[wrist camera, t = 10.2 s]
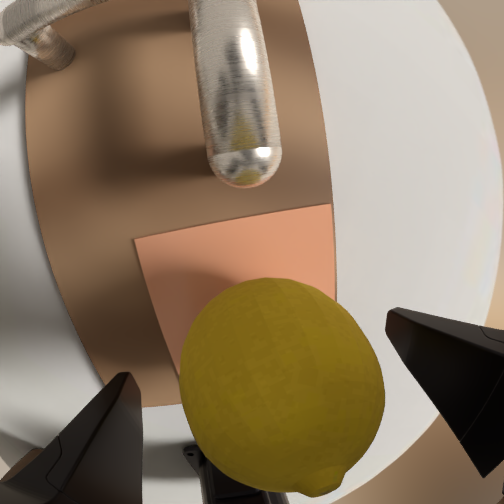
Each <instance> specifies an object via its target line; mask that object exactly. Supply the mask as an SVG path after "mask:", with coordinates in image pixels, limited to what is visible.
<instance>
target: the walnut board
mask: <svg viewBox="0 0 504 504" xmlns="http://www.w3.org/2000/svg"><path fill="white" fill-rule="evenodd" d="M256 3H257V7H258V12H259V17H260V21H261V26H262V31H263V36H264V41H265V46H266V52H267V57H268V62H269V68H270V74H271V79H272V85H273V91H274V97H275V104H276V110H277V116H278V123H279V130H280V137H281V144H282V158H281V162H280V165H279V167H278V169H277V171H276V172H275V174H274V175H273V176H272V177H271V178H270V179H269V180H268V181H266V182H265V183H263V184H261V185H259V186H256V187H252V188H237V187H233V186H230V185H228V184H226V183H224V182H223V181H221V180H220V179H219V178H218V177H217V176H216V175H215V174H214V172H213V171H212V169H211V167H210V165H209V161H208V158H207V151H206V144H205V138H204V131H203V124H202V117H201V109H200V102H199V95H198V87H197V79H196V71H195V63H194V54H193V45H192V36H191V27H190V17H189V7H188V0H110V1H107V2H104V3H101V4H98V5H95V6H93V7H90V8H87V9H85V10H82V11H80V12H77V13H75V14H73V15H70V16H68V17H66V18H64V19H61V20H59V21H57V22H55V23H53V24H51V25H50V26H51V27H52V28H53V29H54V30H55V31H57V32H58V33H59V34H60V35H61V36H62V37H63V38H64V39H65V40H66V41H67V42H68V43H69V44H70V45H71V46H73V47H74V49H75V57H74V59H73V61H72V62H71V64H70V65H69V66H68V67H66V68H65V69H63V70H60V71H55V70H53V69H52V68H50V67H49V66H47V65H46V64H44V63H42V62H41V61H39V60H38V59H36V58H34V57H33V56H31V55H29V56H28V65H27V76H26V96H25V122H26V142H27V154H28V164H29V172H30V179H31V185H32V191H33V197H34V202H35V207H36V212H37V217H38V221H39V225H40V230H41V234H42V237H43V241H44V245H45V248H46V252H47V255H48V258H49V262H50V265H51V268H52V271H53V274H54V277H55V280H56V283H57V285H58V288H59V291H60V293H61V296H62V299H63V301H64V304H65V306H66V308H67V311H68V313H69V316H70V318H71V320H72V322H73V325H74V327H75V329H76V331H77V333H78V335H79V338H80V340H81V342H82V344H83V346H84V348H85V350H86V352H87V354H88V355H89V357H90V359H91V361H92V363H93V365H94V367H95V368H96V370H97V372H98V374H99V375H100V377H101V379H102V381H103V382H104V384H105V386H106V385H107V384H108V382H109V381H110V380H111V379H112V378H113V377H114V376H115V375H116V374H117V373H119V372H127V371H129V372H131V374H132V375H133V377H134V379H135V381H136V383H137V385H138V386H139V388H140V391H141V402H142V407H155V406H165V405H174V404H182V401H181V396H180V389H179V374H178V372H177V369H176V367H175V364H174V362H173V359H172V357H171V354H170V352H169V349H168V346H167V344H166V341H165V338H164V336H163V333H162V330H161V327H160V324H159V322H158V319H157V316H156V313H155V310H154V307H153V304H152V300H151V297H150V294H149V291H148V288H147V284H146V281H145V278H144V274H143V271H142V267H141V263H140V260H139V256H138V252H137V248H136V244H135V240H134V239H135V238H139V237H143V236H148V235H153V234H157V233H162V232H167V231H172V230H177V229H182V228H187V227H192V226H197V225H202V224H207V223H212V222H218V221H223V220H229V219H234V218H240V217H245V216H251V215H257V214H263V213H268V212H274V211H281V210H287V209H293V208H299V207H306V206H312V205H319V204H326V203H330V204H331V209H332V224H333V242H334V270H335V301H336V302H337V270H336V240H335V222H334V207H333V194H332V183H331V173H330V164H329V155H328V147H327V139H326V132H325V125H324V118H323V112H322V105H321V99H320V94H319V88H318V83H317V78H316V72H315V68H314V63H313V58H312V53H311V49H310V45H309V40H308V36H307V32H306V28H305V24H304V20H303V17H302V13H301V9H300V6H299V2H298V0H256Z"/></svg>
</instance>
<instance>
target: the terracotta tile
mask: <svg viewBox="0 0 504 504" xmlns="http://www.w3.org/2000/svg"><path fill="white" fill-rule="evenodd" d="M134 240H135V244H136V248H137V252H138V256H139V260H140V263H141V267H142V271H143V274H144V278H145V281H146V284H147V288H148V291H149V294H150V297H151V300H152V304H153V307H154V310H155V313H156V316H157V319H158V322H159V324H160V327H161V330H162V333H163V336H164V338H165V341H166V344H167V346H168V349H169V352H170V354H171V357H172V359H173V362H174V364H175V367H176V369H177V372H178V374H179V373H180V360H181V352H182V347H183V344H184V341H185V339H186V337H187V334H188V332H189V330H190V328H191V325H192V323H193V321H194V320H195V318H196V317H197V316H198V314H199V313H200V312H201V311H202V310H203V308H204V307H205V306H206V305H207V304H208V303H209V302H210V301H211V300H212V299H213V298H215V297H216V296H217V295H219V294H220V293H222V292H223V291H224V290H226V289H227V288H230V287H232V286H234V285H237V284H239V283H241V282H244V281H247V280H253V279H259V278H264V277H267V278H286V279H291V280H294V281H298V282H301V283H304V284H307V285H310V286H313V287H315V288H317V289H319V290H320V291H322V292H323V293H324V294H326V295H327V296H329V297H330V298H331V299H333V300H334V301H335V270H334V242H333V224H332V209H331V204H330V203H326V204H319V205H312V206H306V207H299V208H293V209H287V210H281V211H274V212H268V213H263V214H257V215H251V216H245V217H240V218H234V219H229V220H223V221H218V222H212V223H207V224H202V225H197V226H192V227H187V228H182V229H177V230H172V231H167V232H162V233H157V234H153V235H148V236H143V237H139V238H135V239H134Z"/></svg>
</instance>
